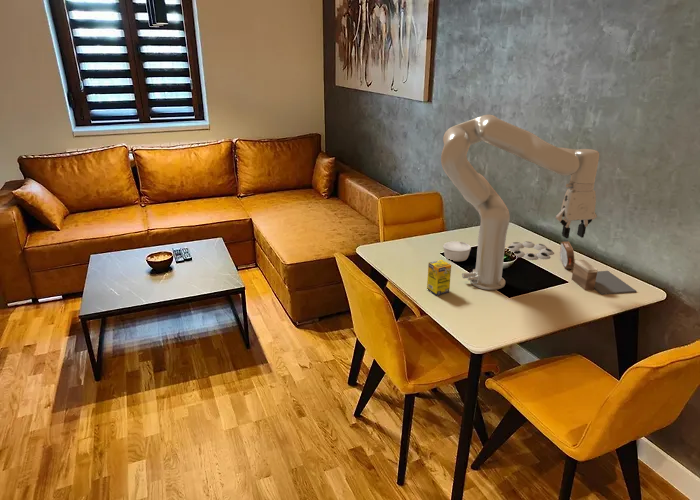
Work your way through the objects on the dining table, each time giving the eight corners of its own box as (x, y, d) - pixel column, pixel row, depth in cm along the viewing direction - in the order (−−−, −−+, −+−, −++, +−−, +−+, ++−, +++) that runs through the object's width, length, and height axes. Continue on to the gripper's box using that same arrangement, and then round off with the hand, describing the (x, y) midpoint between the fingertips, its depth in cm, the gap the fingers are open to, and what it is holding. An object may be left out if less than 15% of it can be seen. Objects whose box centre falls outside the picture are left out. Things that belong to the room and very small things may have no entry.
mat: (601, 294, 173) (601, 293, 173) (575, 274, 189) (576, 272, 189) (636, 292, 174) (636, 290, 174) (607, 272, 190) (607, 270, 190)
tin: (573, 272, 190) (576, 252, 187) (564, 271, 191) (567, 251, 188) (565, 257, 204) (568, 238, 201) (557, 256, 205) (560, 237, 201)
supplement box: (436, 296, 174) (438, 268, 170) (426, 289, 179) (427, 262, 174) (449, 292, 176) (451, 264, 172) (439, 286, 181) (441, 259, 177)
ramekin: (475, 258, 204) (476, 246, 202) (456, 265, 198) (457, 253, 196) (456, 250, 213) (456, 239, 211) (437, 256, 207) (437, 244, 205)
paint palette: (505, 241, 222) (505, 237, 221) (551, 245, 217) (552, 241, 216) (505, 258, 205) (506, 254, 204) (556, 263, 200) (556, 258, 199)
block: (584, 290, 176) (588, 270, 173) (571, 279, 185) (574, 260, 182) (593, 289, 177) (597, 269, 174) (580, 278, 185) (583, 259, 182)
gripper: (563, 190, 161) (555, 241, 168) (611, 188, 163) (601, 239, 170) (552, 184, 168) (544, 234, 175) (598, 182, 170) (589, 231, 177)
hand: (572, 236), depth 173 cm, fingers open, 4 cm apart
